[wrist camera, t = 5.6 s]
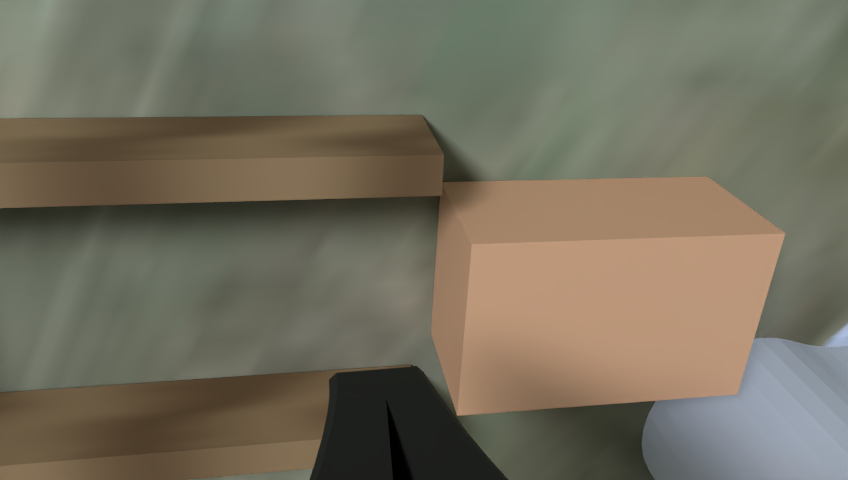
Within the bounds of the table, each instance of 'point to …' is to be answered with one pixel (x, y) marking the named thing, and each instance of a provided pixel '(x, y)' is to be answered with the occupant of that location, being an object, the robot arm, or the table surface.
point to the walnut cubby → (193, 183)
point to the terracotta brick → (596, 291)
